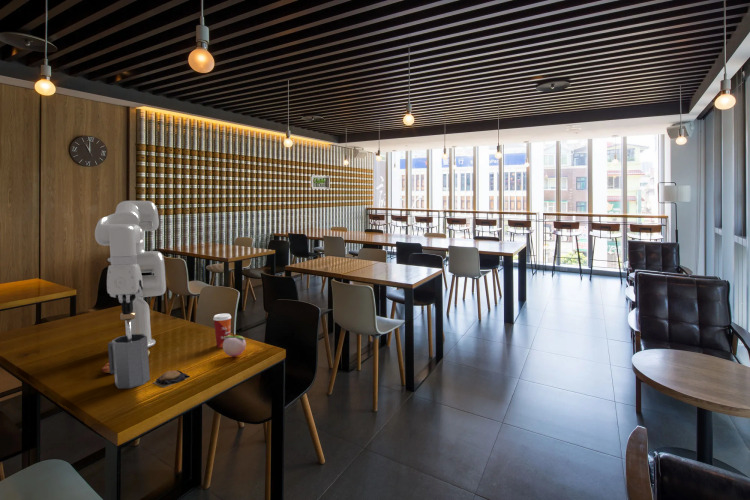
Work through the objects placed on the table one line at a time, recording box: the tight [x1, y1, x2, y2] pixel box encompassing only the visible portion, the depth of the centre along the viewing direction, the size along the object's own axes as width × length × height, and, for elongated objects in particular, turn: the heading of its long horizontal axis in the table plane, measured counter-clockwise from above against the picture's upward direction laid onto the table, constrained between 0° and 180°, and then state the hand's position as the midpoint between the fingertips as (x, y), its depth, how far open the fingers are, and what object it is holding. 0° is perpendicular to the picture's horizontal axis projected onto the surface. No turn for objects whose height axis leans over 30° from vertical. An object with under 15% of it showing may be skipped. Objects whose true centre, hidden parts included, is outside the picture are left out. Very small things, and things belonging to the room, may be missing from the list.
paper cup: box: [212, 313, 232, 349], centre depth 174 cm, size 8×8×14 cm
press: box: [107, 334, 151, 389], centre depth 137 cm, size 12×10×16 cm
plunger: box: [120, 311, 136, 342], centre depth 136 cm, size 8×8×18 cm
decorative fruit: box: [222, 333, 247, 358], centre depth 160 cm, size 9×8×10 cm
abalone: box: [152, 369, 191, 389], centre depth 140 cm, size 11×8×4 cm
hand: (127, 313), depth 135 cm, fingers closed
